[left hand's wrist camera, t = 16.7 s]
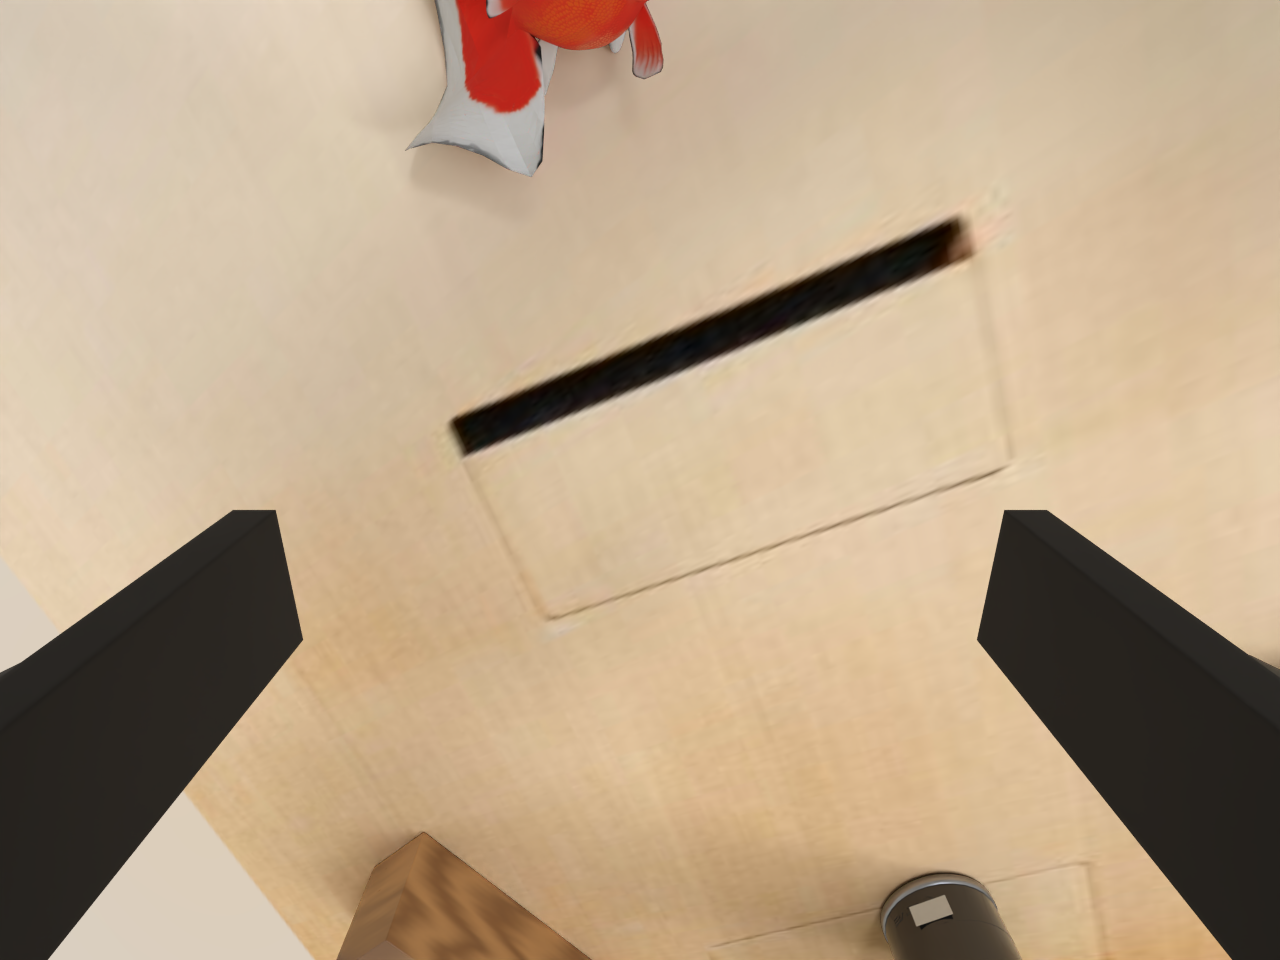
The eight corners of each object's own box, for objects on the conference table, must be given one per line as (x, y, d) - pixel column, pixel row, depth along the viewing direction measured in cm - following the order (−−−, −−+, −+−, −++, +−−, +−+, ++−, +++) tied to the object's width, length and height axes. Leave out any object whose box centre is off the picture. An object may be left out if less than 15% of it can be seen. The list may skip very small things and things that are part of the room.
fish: (743, 143, 32) (639, 48, 23) (492, 236, 40) (343, 190, 31) (712, -91, 31) (595, -278, 23) (464, 48, 39) (306, -51, 30)
